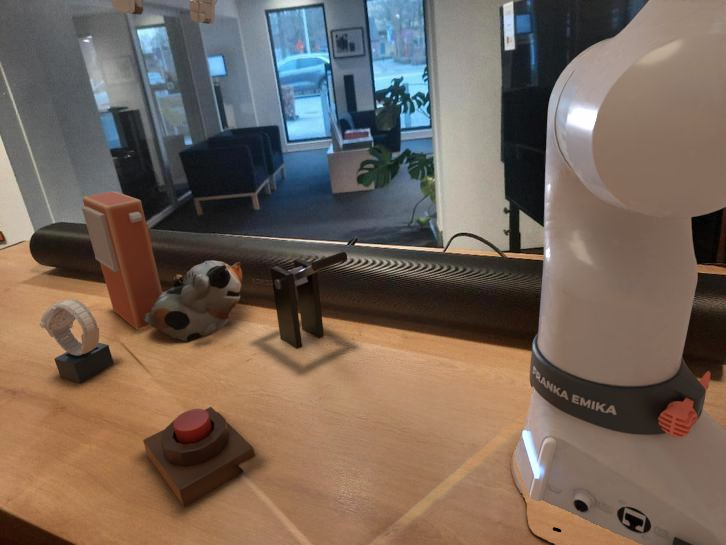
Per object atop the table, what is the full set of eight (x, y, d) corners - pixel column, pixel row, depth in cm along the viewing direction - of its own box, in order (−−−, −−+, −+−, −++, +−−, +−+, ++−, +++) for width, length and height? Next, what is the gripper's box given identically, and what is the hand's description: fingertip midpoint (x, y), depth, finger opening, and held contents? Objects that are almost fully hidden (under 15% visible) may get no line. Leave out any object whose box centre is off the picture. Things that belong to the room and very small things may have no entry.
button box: (256, 464, 52) (251, 433, 51) (184, 507, 48) (175, 475, 46) (214, 421, 59) (208, 393, 58) (147, 455, 55) (138, 426, 53)
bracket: (351, 347, 74) (344, 267, 69) (301, 371, 68) (290, 287, 63) (304, 322, 82) (295, 249, 77) (257, 342, 77) (244, 265, 72)
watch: (86, 355, 76) (65, 290, 72) (121, 365, 73) (102, 297, 69) (51, 374, 72) (27, 306, 68) (87, 386, 68) (64, 315, 64)
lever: (350, 263, 64) (343, 246, 64) (319, 274, 61) (312, 256, 61) (307, 282, 74) (301, 267, 74) (279, 293, 71) (272, 277, 71)
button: (217, 432, 52) (215, 418, 51) (185, 449, 50) (181, 435, 49) (203, 417, 54) (200, 404, 54) (171, 433, 52) (167, 419, 52)
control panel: (143, 298, 96) (176, 320, 86) (105, 310, 92) (135, 336, 81) (116, 189, 88) (148, 199, 78) (73, 197, 84) (101, 209, 74)
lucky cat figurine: (183, 307, 90) (209, 238, 88) (238, 337, 88) (267, 267, 86) (126, 323, 76) (155, 241, 73) (191, 359, 74) (223, 276, 71)
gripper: (86, -259, 28) (102, 11, 34) (270, -132, 46) (259, 31, 52) (4, -260, 30) (33, -2, 36) (212, -137, 48) (208, 22, 53)
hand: (168, 18), depth 44 cm, fingers open, 8 cm apart
